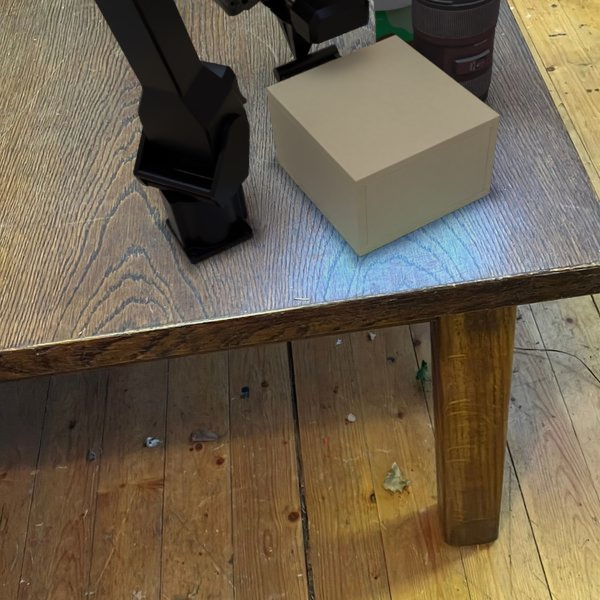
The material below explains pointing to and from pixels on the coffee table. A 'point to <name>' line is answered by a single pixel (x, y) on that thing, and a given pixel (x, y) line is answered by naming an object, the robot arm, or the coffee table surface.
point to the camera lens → (458, 39)
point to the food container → (393, 20)
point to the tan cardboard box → (383, 141)
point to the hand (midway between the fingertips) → (300, 59)
